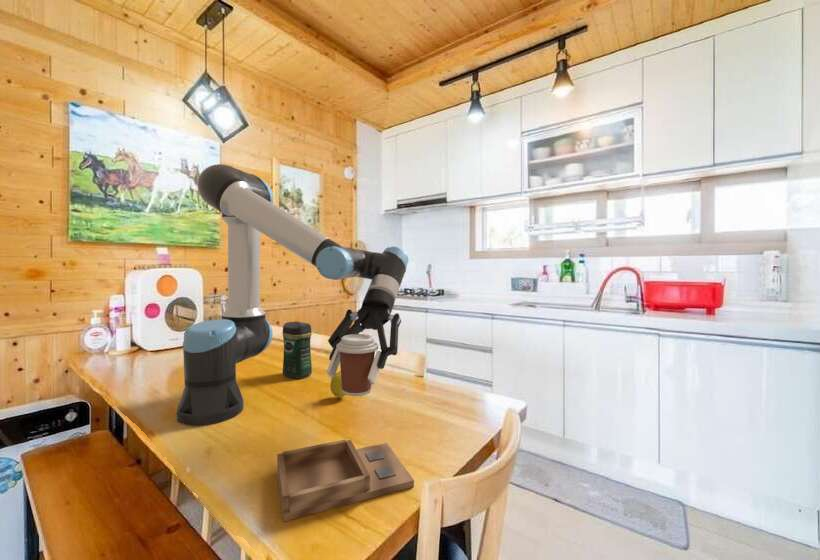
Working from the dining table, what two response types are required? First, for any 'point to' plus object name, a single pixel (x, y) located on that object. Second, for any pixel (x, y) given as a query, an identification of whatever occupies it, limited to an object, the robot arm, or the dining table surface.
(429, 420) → the dining table surface
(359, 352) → the coffee cup
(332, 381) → the lemon
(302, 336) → the coffee jar
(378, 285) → the robot arm
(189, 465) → the dining table surface
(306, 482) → the wooden tray
